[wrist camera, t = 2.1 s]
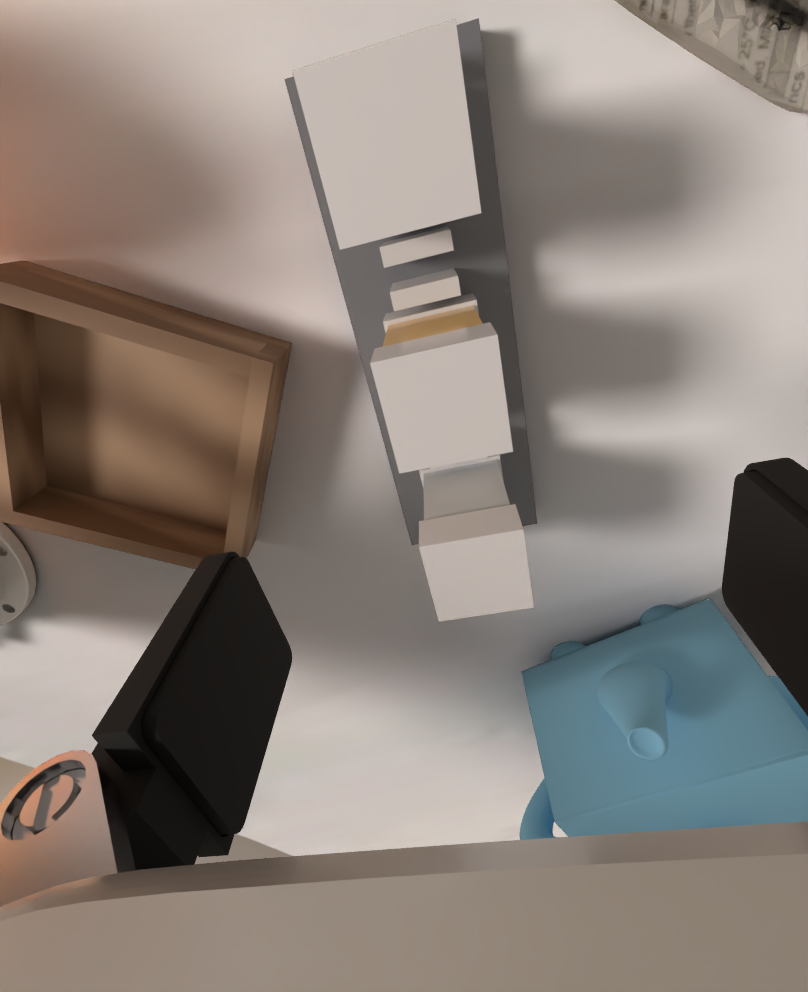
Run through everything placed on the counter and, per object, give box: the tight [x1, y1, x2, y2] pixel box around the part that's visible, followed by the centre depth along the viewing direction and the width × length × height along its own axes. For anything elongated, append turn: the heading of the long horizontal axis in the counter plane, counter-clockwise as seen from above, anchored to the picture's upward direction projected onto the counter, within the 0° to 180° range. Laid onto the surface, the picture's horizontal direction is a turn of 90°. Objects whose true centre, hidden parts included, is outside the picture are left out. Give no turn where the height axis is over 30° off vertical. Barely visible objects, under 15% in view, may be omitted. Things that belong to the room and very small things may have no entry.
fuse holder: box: [285, 18, 537, 545], centre depth 25 cm, size 24×8×4 cm, turn 13°
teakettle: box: [520, 598, 808, 840], centre depth 33 cm, size 19×19×15 cm
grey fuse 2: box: [419, 454, 534, 622], centre depth 26 cm, size 4×4×9 cm
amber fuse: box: [370, 293, 513, 474], centre depth 22 cm, size 4×4×9 cm
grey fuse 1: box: [292, 19, 481, 250], centre depth 18 cm, size 4×4×9 cm
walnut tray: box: [0, 261, 292, 569], centre depth 28 cm, size 14×14×4 cm
